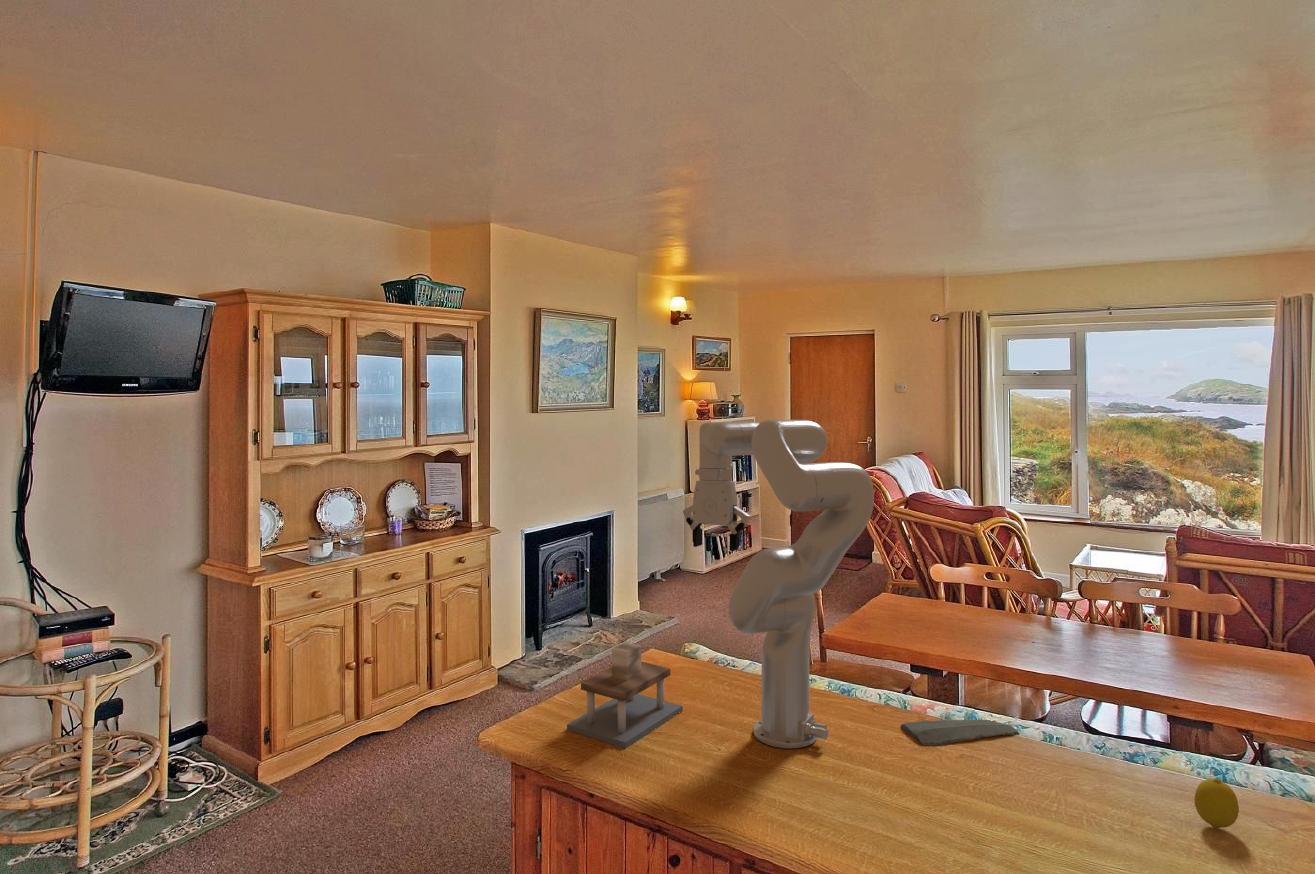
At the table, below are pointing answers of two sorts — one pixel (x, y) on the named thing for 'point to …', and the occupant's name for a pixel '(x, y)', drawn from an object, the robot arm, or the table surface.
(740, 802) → the table surface
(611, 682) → the shelf board
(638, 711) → the peg stand
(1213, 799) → the lemon
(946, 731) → the stone slab
